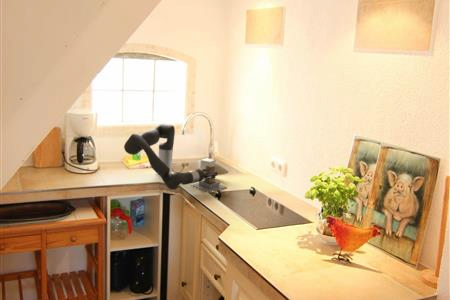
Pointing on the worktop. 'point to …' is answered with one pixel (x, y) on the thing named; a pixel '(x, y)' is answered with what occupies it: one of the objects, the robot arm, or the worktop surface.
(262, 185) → the worktop surface
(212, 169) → the walnut post
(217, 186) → the well board
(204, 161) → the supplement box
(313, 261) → the worktop surface
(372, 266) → the worktop surface
